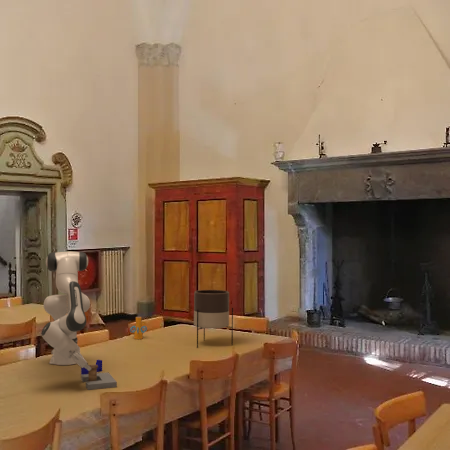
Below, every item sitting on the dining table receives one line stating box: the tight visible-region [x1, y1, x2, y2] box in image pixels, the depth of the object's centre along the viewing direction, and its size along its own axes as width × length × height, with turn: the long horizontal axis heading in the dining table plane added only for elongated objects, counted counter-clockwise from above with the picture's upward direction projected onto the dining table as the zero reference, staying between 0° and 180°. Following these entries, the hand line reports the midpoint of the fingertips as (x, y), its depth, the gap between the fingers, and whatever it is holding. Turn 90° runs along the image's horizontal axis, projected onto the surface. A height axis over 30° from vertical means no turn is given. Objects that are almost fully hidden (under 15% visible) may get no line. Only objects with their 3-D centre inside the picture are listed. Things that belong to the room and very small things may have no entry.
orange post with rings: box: [129, 316, 148, 340], centre depth 412 cm, size 12×10×15 cm
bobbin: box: [87, 364, 98, 382], centre depth 296 cm, size 6×6×9 cm
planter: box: [193, 289, 234, 349], centre depth 393 cm, size 26×25×35 cm
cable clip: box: [80, 359, 103, 376], centre depth 317 cm, size 12×4×6 cm, turn 143°
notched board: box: [80, 371, 118, 391], centre depth 297 cm, size 20×14×2 cm
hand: (88, 367), depth 295 cm, fingers open, 8 cm apart
